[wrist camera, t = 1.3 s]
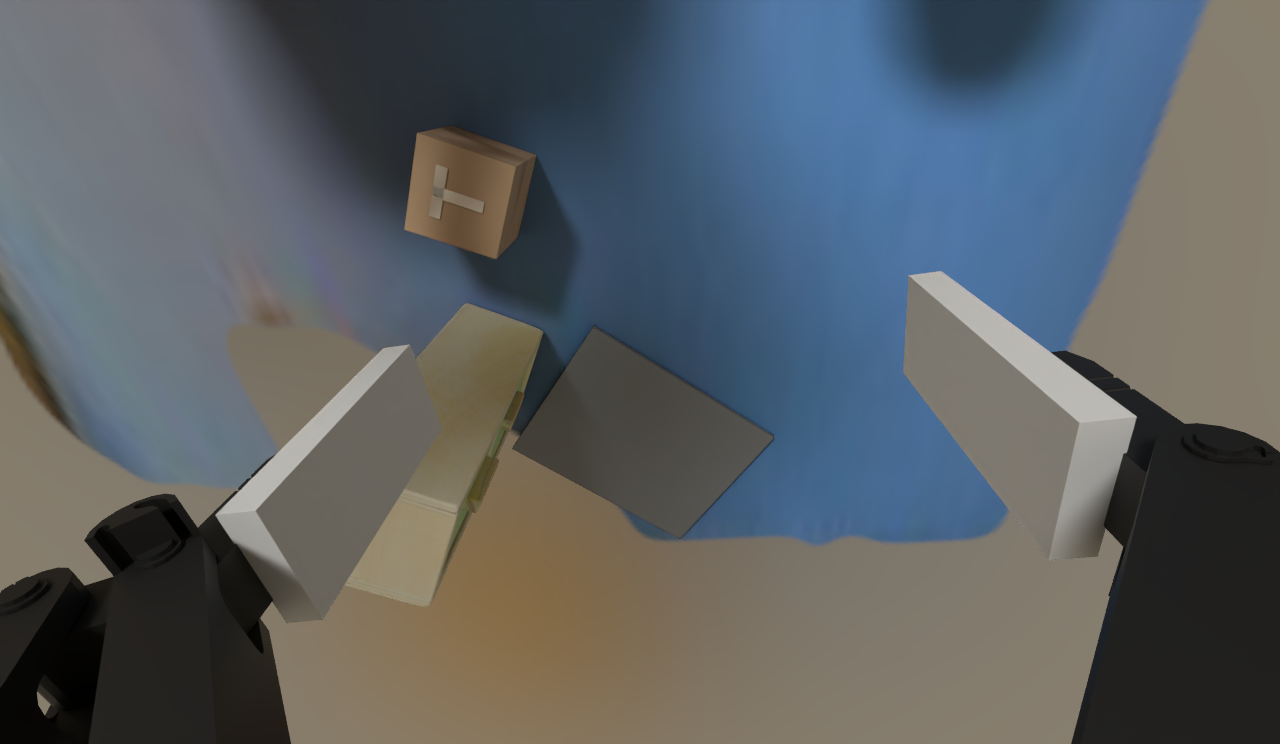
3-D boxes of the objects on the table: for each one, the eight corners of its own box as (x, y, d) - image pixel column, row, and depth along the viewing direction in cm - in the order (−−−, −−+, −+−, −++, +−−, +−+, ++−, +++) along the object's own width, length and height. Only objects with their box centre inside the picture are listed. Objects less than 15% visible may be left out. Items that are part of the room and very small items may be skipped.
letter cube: (438, 210, 42) (403, 230, 36) (451, 125, 39) (416, 133, 34) (518, 236, 42) (495, 259, 37) (536, 154, 40) (515, 167, 34)
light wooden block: (528, 412, 49) (440, 616, 30) (444, 383, 48) (301, 575, 30) (555, 333, 46) (474, 509, 27) (465, 300, 45) (318, 459, 26)
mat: (513, 446, 51) (512, 448, 50) (594, 325, 45) (593, 327, 45) (679, 535, 55) (679, 538, 54) (773, 435, 49) (774, 437, 49)
